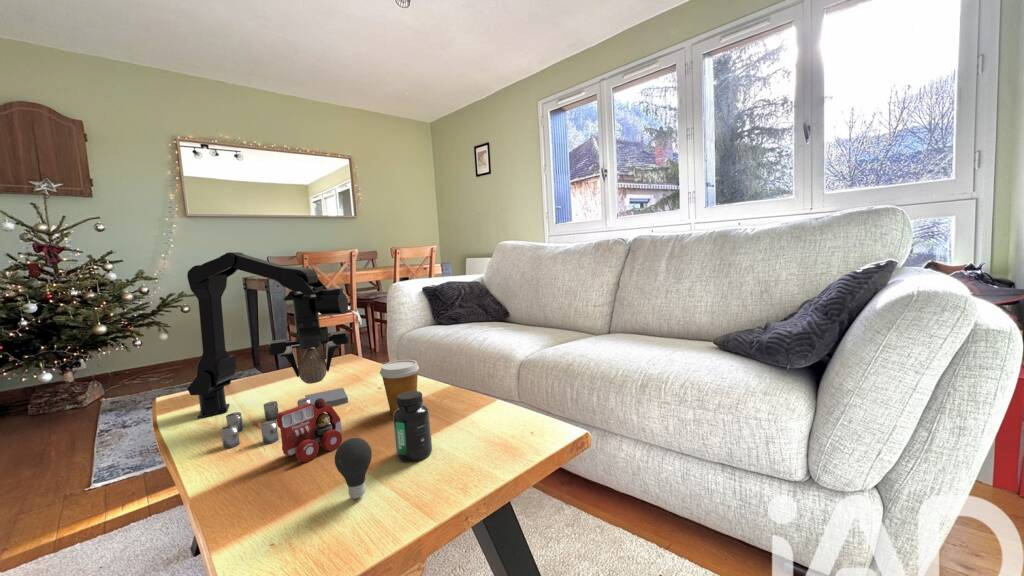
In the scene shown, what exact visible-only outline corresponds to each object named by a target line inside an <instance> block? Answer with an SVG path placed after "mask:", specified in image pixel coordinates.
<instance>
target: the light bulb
mask: <svg viewBox="0 0 1024 576" xmlns="http://www.w3.org/2000/svg"><path fill="white" fill-rule="evenodd" d="M372 453H373V452H372V447H371V446H370V444H369V443H368V442H367V441H366V440H365V439H364V438H359V437H351V438H347V439H345V440H344V441H342V442H341V444H340V446H339V447H338V448H337V449H336V451H335V454H334V464H335V467H336V469H337V471H338V472H339V474H341V477H343V478H344V479H345V480H344V481H345V484H346V485H347V488H348V495H349V497H350V498H351V499H354V500H356V501H357V500H360V499H361V497H363V496H364V494H365V493H366V485H365V482H366V476H367V472H368V469H369V467H370V464H371V462H372V458H373V457H372V455H373V454H372Z"/></svg>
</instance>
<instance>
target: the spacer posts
mask: <svg viewBox="0 0 1024 576" xmlns="http://www.w3.org/2000/svg"><path fill="white" fill-rule="evenodd" d="M307 403H311V398H305V397H304V398H300V399H298V400H297V407H298V406H301V405H304V404H307ZM263 411H264V418H265V421H266V422H263V423H261V424H260V429H261V430H260V431H261V438H262V444H264V445H270V444H274V443H276V442H277V441H279V439H280V438H279V431H278V426H277V420H276V417H277V415H278V414H279V413H280V412H279V406H278V401H275V400H274V401H273V400H272V401H268V402H266V403H263ZM225 419H226V420H225V421H226V426H224V427H222V428H221V429H220V432H221V440H222V447H223V449H226V450H228V449H233V448H236V447H238V446H239V445H240V444H241V440H240V432H242V431H243V430H244V425H243V417H242V412H240V411H238V412H237V411H236V412H232V413H229V414H227V415H225Z"/></svg>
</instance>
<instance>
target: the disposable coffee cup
mask: <svg viewBox="0 0 1024 576" xmlns="http://www.w3.org/2000/svg"><path fill="white" fill-rule="evenodd" d="M419 369H420V366H419V365H418V362H417V360H413V359H400V360H399V359H398V360H393V361H390V362H386V363H385V364H382V365H381V368H380V371H379V374H380V375H381V376H380V377H382V381H383V385H384V391H385V394H386V399H387V403H388V408H389V412H390V415H392V416H393V414H394V412H395V411H396V410H397V409H398V407H397V396H398V395H399V394H401V393H404V392H409V391H418V373H419Z"/></svg>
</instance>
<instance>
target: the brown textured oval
mask: <svg viewBox="0 0 1024 576" xmlns="http://www.w3.org/2000/svg"><path fill="white" fill-rule="evenodd" d="M297 367H298V373H299V377H298V378H300V380H301V381H302V382H303V383H305V384H308V385H310V384H316V383H320V382H322V381H323V380H324V378H325V377H326V376H327V365H326V359H325V357H323V355H322V354H321V353H320V352H318V351H317V348H315V347H314V348H308V349H306V350H305V351H304V353H303V355H302V356H301V358H300V360H299V362H298V363H297Z"/></svg>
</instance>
